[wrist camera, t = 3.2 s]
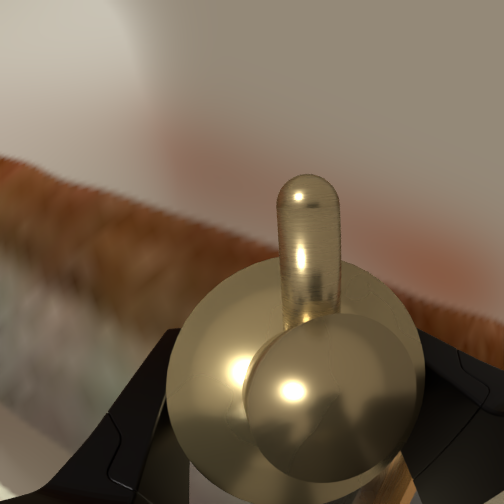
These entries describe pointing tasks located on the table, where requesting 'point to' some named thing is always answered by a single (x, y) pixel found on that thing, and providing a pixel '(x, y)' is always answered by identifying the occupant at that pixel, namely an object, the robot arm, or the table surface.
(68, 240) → the table surface
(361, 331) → the spout can
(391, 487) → the grey square tray
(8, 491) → the table surface
